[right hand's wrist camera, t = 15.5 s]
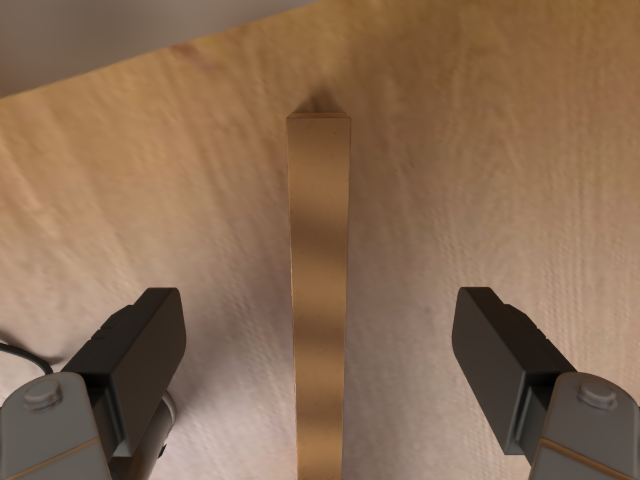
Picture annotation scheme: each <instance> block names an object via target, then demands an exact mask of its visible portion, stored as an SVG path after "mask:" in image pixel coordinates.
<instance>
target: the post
mask: <svg viewBox="0 0 640 480" xmlns="http://www.w3.org/2000/svg"><path fill="white" fill-rule="evenodd" d="M286 133H287V164H288V195H289V226H290V257H291V288H292V319H293V350H294V381H295V412H296V442H297V473H298V480H341V478H342V441H343V404H344V366H345V329H346V291H347V254H348V216H349V179H350V142H351V118H350V117H349V116H348V115H347V114H346V113H345V112H302V113H291V114H290V115H289V116H288V117H287V118H286Z"/></svg>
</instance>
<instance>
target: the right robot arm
mask: <svg viewBox="0 0 640 480" xmlns="http://www.w3.org/2000/svg"><path fill="white" fill-rule="evenodd" d="M185 347H186V330H185V324H184V317H183V311H182V304H181V297H180V293H179V290H178V289H177V288H148V289H146V291H145V292H144V293H143V294H142V295H141V296H140V298H139V299H138V300H137V301H136V302H135V303H134V305H127V306H126V307H124V308H122V309H121V310H119V311H117V312H116V313H114V314H113V315H111V316H110V317H109V318H108V319H107V321H106V322H105V323H104V324H103V325H102V326H101V329H100V330H97V332H96V333H95V334H94V335H93V336H92V337H91V340H88V341H87V343H86V344H85V345H84V346H83V347H82V348H81V349H80V350H79V351H78V352H77V353H76V355H75V356H74V357H73V358H72V359H71V360H70V361H69V362H68V363H67V364H66V366H65V367H64V368H63V369H62V370H61V371H60V372H57V373H53V370H52V368H51V367H50V366H49V365H48V364H47V363H46V362H45V361H44V360H42V359H40V358H38V357H36V356H34V355H32V354H30V353H28V352H26V351H24V350H22V349H19V348H16V347H13V346H9V345H6V344H3V343H0V351H4V352H7V353H10V354H14V355H17V356H20V357H23V358H25V359H27V360H30V361H32V362H33V363H35V364H36V365H38V366H39V367H40V368H41V369H42V370H43V371H44V373H45V376H41V377H39V378H36V379H34V380H32V381H30V382H28V383H26V384H24V385H23V386H21V387H20V388H18V389H17V390H15V391H14V392H13V393H12V394H11V395H10V396H9V397H8V398H7V399H6V400H5V402H4V403H3V405H2V407H0V480H148V479H149V477H150V475H151V473H152V470H153V468H154V466H155V463H156V461H157V459H158V458H159V457H161V456H162V454H163V452H164V449H165V447H166V445H167V444H166V445H165V446H164V447H163V445H164V443H165V440H166V438H167V437H168V434H169V433H170V431H171V429H172V426H173V424H174V422H175V419H176V408H175V405H174V402H173V400H172V398H171V397H170V396H169V394H168V393H167V392H166V389H167V387H168V385H169V383H170V381H171V379H172V377H173V375H174V373H175V371H176V369H177V367H178V365H179V363H180V361H181V359H182V357H183V355H184V352H185ZM452 347H453V351H454V354H455V357H456V359H457V361H458V363H459V365H460V367H461V369H462V371H463V373H464V375H465V377H466V379H467V381H468V383H469V385H470V387H471V389H472V391H473V393H474V395H475V397H476V399H477V401H478V403H479V405H480V407H481V409H482V411H483V413H484V415H485V417H486V419H487V421H488V423H489V425H490V427H491V429H492V430H493V432H494V434H495V436H496V438H497V440H498V442H499V444H500V446H501V448H502V450H503V452H504V454H505V455H525V457H526V458H527V460H528V462H529V464H530V466H531V471H530V474H529V478H528V480H640V407H639V406H638V405H637V403H636V402H635V400H634V399H633V398H632V397H631V396H630V395H629V394H628V393H627V392H626V391H625V390H623V389H622V388H620V387H619V386H617V385H616V384H614V383H612V382H610V381H608V380H606V379H604V378H601V377H599V376H595V375H592V374H588V373H583V372H578V371H577V370H576V369H575V368H574V367H573V366H572V365H571V364H570V363H569V361H568V360H567V359H566V358H565V357H564V356H563V355H562V354H561V353H560V351H559V350H558V349H557V348H556V347H555V346H554V345H553V344H552V343H551V342H550V340H549V339H546V336H545V335H544V334H543V333H542V332H541V330H540V329H537V326H536V325H535V324H534V323H533V322H532V321H531V319H530V318H529V317H528V316H527V315H526V314H525V313H523V312H521V311H520V310H518V309H516V308H515V307H513V306H511V305H510V304H504V303H503V302H502V301H501V300H500V299H499V297H498V296H497V295H496V294H495V293H494V292H493V290H492V289H491V288H489V287H461V288H460V289H459V292H458V296H457V303H456V309H455V316H454V323H453V330H452Z"/></svg>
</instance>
